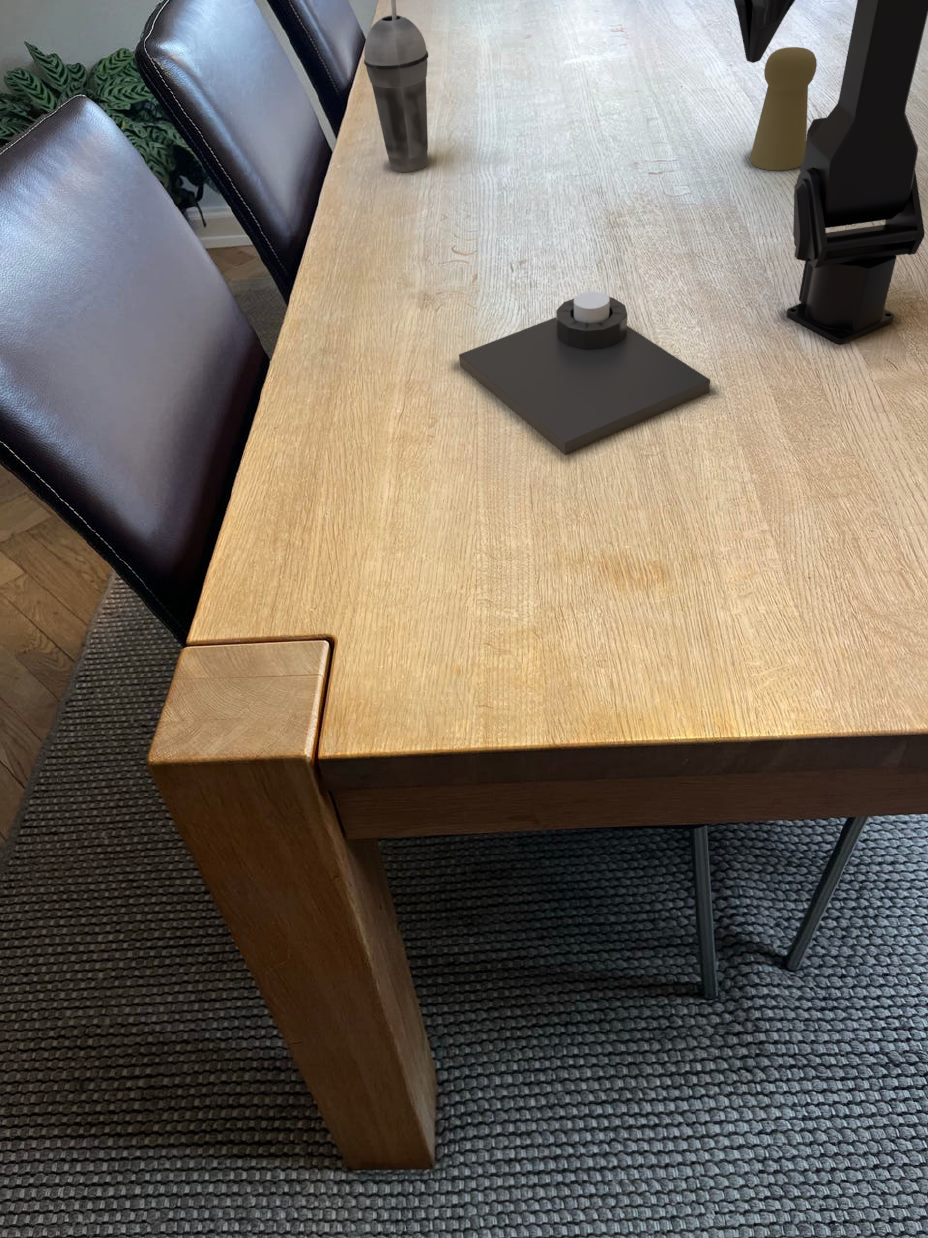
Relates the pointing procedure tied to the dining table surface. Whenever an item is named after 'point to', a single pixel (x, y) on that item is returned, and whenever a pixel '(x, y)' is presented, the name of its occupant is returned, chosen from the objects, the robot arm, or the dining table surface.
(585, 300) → the button
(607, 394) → the scale
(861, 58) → the robot arm
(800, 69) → the tan pawn
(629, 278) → the dining table surface
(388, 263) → the dining table surface
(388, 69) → the beverage cup
